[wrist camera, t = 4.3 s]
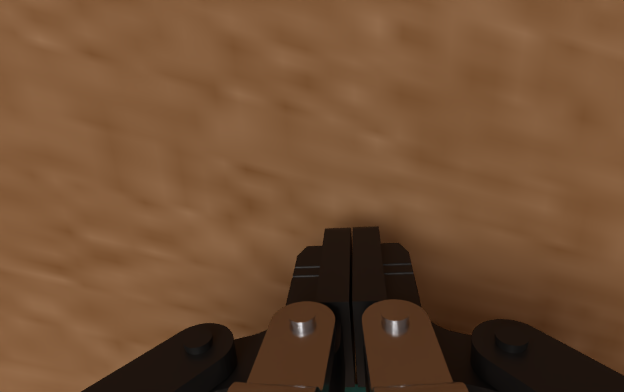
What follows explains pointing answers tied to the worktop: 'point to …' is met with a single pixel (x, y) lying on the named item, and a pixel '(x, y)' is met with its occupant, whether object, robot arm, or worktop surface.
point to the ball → (355, 389)
